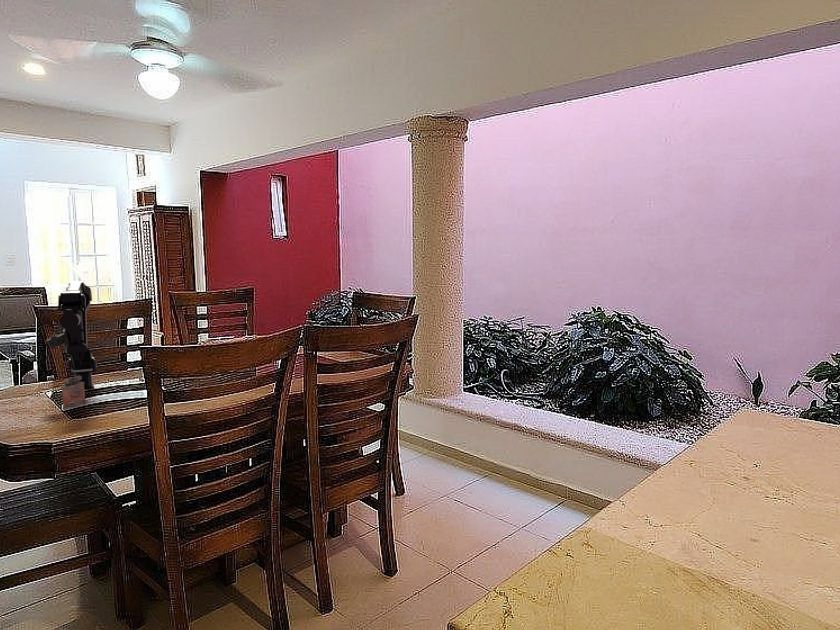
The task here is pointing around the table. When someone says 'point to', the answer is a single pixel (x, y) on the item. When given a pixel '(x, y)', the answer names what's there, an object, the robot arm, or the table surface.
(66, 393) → the lighter
